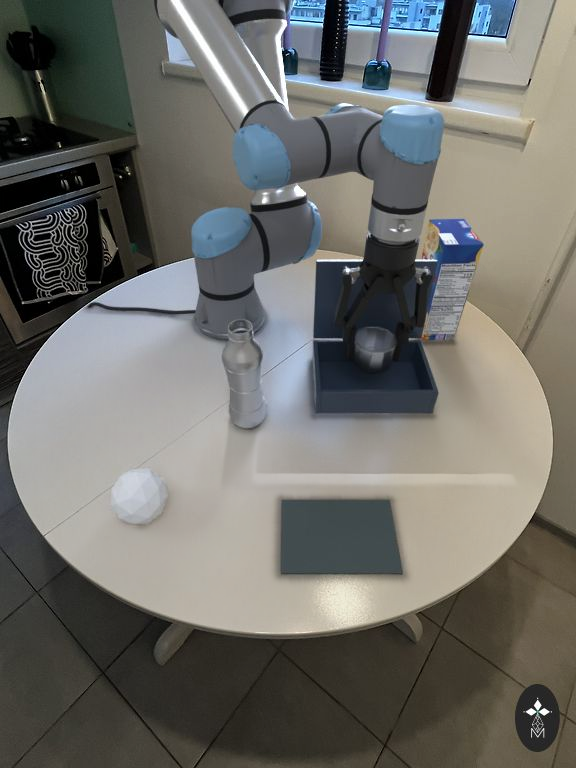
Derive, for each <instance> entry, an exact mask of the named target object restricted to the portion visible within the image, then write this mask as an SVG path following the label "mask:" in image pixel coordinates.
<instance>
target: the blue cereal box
mask: <svg viewBox="0 0 576 768" xmlns="http://www.w3.org/2000/svg"><path fill="white" fill-rule="evenodd" d="M484 246H485V244H484V243H483V241H482V240H481V238H480V237H479V236H478V234H477V233H476V232H475V231H474V230H473V228H472V227H471V226H470V224H469V223H468V222H467V220H466V219H465V218H436V219H435V218H433V219H432V218H431V219H430V218H429V219H428V224H427V227H426V233H425V238H424V242H423V247H422V251H421V257H420V260H437V261H438V264H437V268H436V273H435V278H434V282H433V287H432V292H431V296H430V301H429V306H428V310H427V315H426V320H425V324H424V329H423V334H422V338H420V340H421V342H422V341H455V337H456V334H457V332H458V328H459V324H460V321H461V318H462V315H463V313H464V309H465V306H466V303H467V299H468V296H469V292H470V289H471V286H472V283H473V280H474V277H475V274H476V271H477V268H478V264H479V261H480V258H481V255H482V251H483V248H484Z"/></svg>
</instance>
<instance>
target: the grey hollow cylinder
mask: <svg viewBox="0 0 576 768" xmlns="http://www.w3.org/2000/svg"><path fill="white" fill-rule="evenodd" d="M396 347H397V339H396V336H395V335H394V334H393V333H392V332H390V331H389V330H388V329H385V328H382V327H379V326H366V327H363V328H360V329H358V330H357V331H356V336H355V343H354V351H353V358H352V361H351V362H352V363H353V365H354V366H355V367H356V368H357V369H358V370H360V371H362V372H364V373H368V374H380V373H383V372H385V371H387V370H388V369H389V368H390V367H391V365H392V364H393V360H394V356H395V351H396Z"/></svg>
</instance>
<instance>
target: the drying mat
mask: <svg viewBox="0 0 576 768" xmlns="http://www.w3.org/2000/svg"><path fill="white" fill-rule="evenodd" d="M280 517H281V519H280V533H281V534H280V575H403V574H404V570H403V565H402V559H401V554H400V548H399V543H398V539H397V537H398V536H397V532H396V526H395V522H394V517H393V511H392V506H391V501H390V499H281V516H280Z"/></svg>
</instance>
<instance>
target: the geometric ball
mask: <svg viewBox="0 0 576 768" xmlns="http://www.w3.org/2000/svg"><path fill="white" fill-rule="evenodd" d="M168 497H169V492H168V486H167V484H166V481H165V480H164V478H163V477H162V476H161V475H159V474H158V473H157V472H155V471H154V470H152V469H151V468H149V467H145V468H144V467H143V468H142V467H141V468H130V469H128V470H127V471H125V472H124V473H123V474H122V475H120V476H119V477H118V478H117V479H116V480H115V482H114V484H113V485H112V487H111V489H110V501H109V507H110V508H111V510H112V511H113V512H114V513H115V515H116V516H117V518H118V519H119V520H120V521H123V522H125V523H127V524H129V525H148V524H150V522H152V521H153V520H154V519H156V518H157V517H159V516H160V515H161V514H163V511H164V509H165V507H166V503H167V500H168Z"/></svg>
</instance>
